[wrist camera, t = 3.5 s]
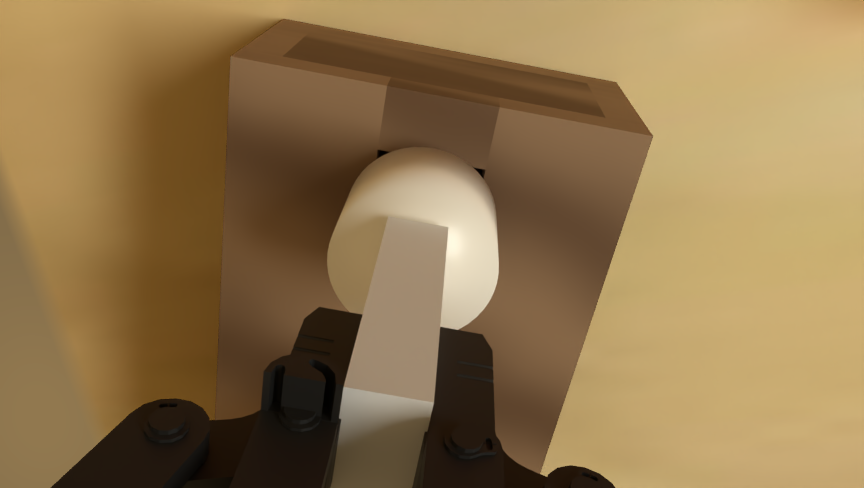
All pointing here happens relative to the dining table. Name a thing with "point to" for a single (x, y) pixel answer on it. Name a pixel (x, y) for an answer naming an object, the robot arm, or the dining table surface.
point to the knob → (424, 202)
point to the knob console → (434, 128)
